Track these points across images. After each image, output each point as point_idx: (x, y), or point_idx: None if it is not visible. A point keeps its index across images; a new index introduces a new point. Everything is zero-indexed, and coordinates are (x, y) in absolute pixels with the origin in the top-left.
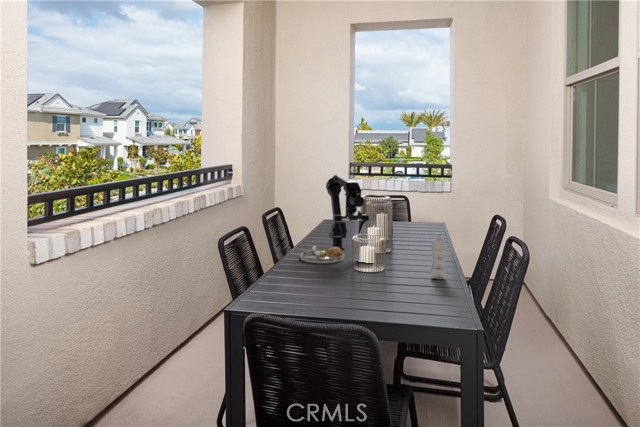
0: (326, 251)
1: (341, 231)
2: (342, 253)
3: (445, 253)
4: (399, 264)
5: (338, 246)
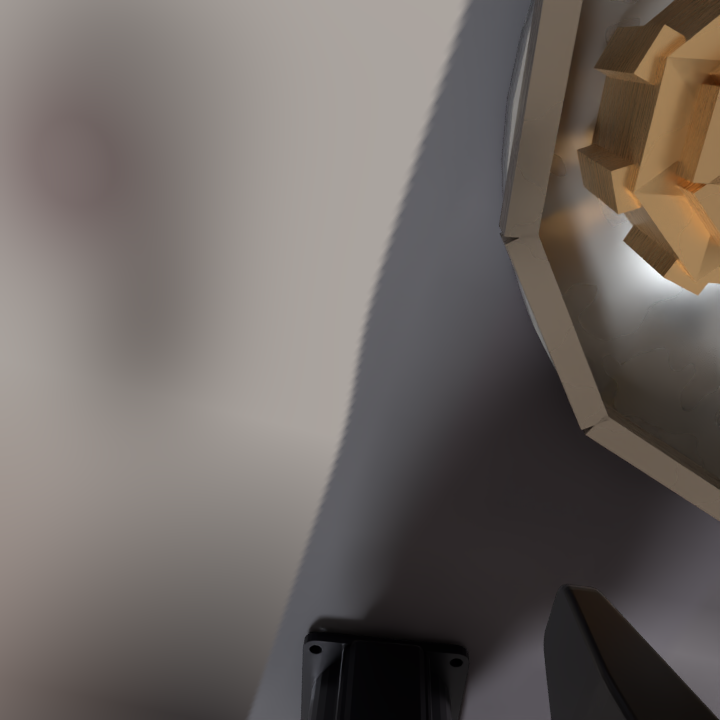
0: (706, 471)
1: (676, 674)
2: (552, 105)
3: None
4: None
5: (392, 668)
